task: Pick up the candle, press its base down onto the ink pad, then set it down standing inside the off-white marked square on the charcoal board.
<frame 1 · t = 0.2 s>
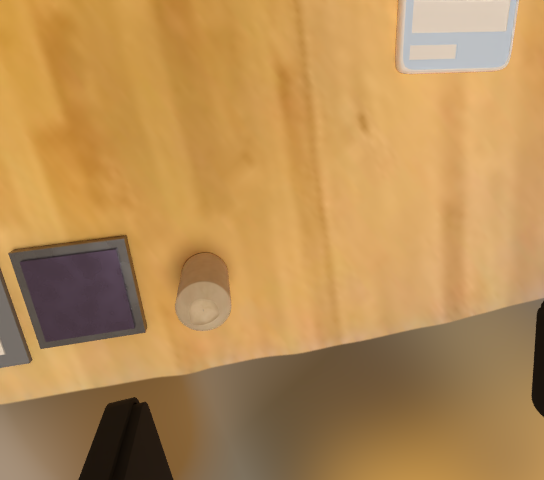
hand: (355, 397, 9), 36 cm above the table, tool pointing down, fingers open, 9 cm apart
ink pad: (84, 290, 44), on the table
candle: (205, 272, 46), on the table
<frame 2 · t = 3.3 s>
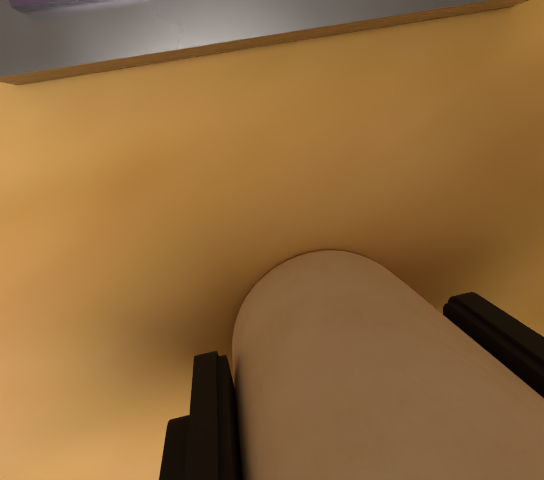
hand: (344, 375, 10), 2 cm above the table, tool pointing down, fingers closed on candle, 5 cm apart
candle: (320, 330, 12), on the table, touching gripper
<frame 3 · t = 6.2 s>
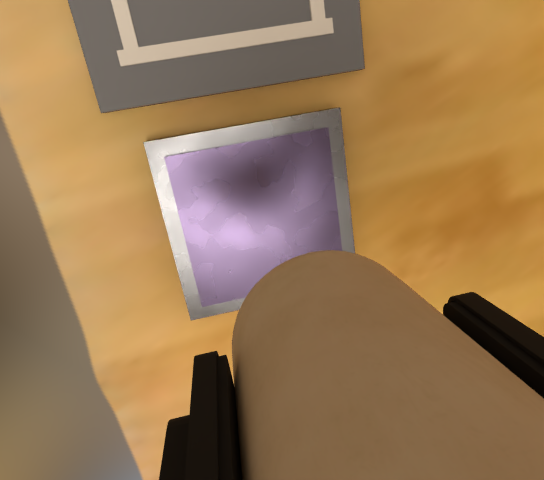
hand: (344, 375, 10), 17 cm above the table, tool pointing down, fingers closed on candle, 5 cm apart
ink pad: (259, 215, 26), on the table
candle: (320, 330, 12), point 15 cm above the table, touching gripper
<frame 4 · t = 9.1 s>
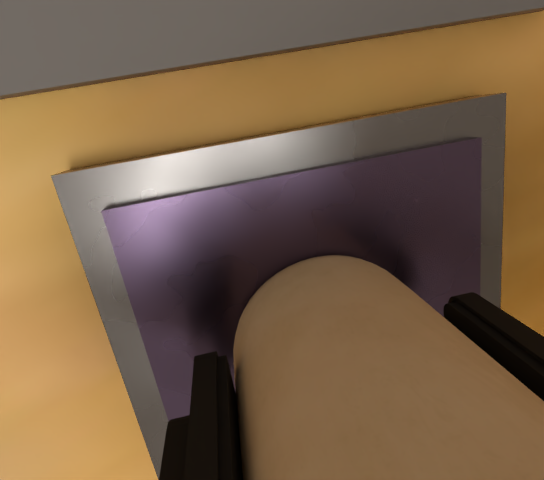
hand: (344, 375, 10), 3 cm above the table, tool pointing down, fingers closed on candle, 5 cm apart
ink pad: (310, 313, 13), on the table
candle: (323, 336, 11), point 1 cm above the table, touching gripper, ink pad
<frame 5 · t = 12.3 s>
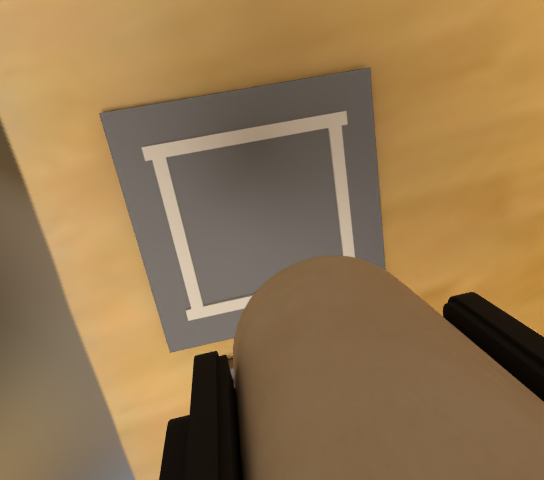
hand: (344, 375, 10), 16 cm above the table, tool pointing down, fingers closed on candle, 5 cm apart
marked board: (261, 218, 25), on the table
candle: (323, 336, 11), point 15 cm above the table, touching gripper
when the fingers open (4 cm above the table, at t = 14.9 s): candle drops 1 cm, resting on marked board.
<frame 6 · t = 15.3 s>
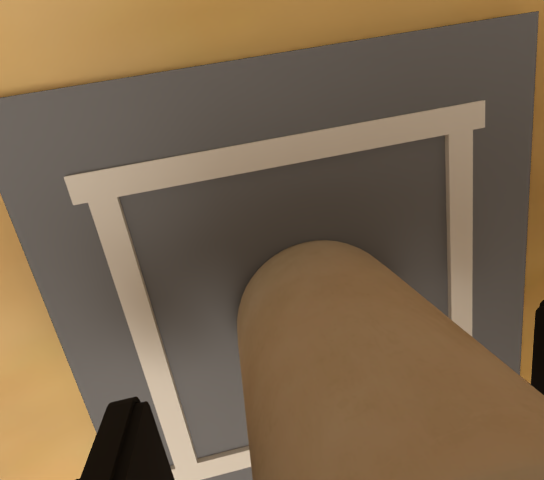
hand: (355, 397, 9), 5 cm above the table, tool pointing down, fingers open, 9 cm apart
marked board: (306, 302, 13), on the table
candle: (315, 312, 13), resting on marked board
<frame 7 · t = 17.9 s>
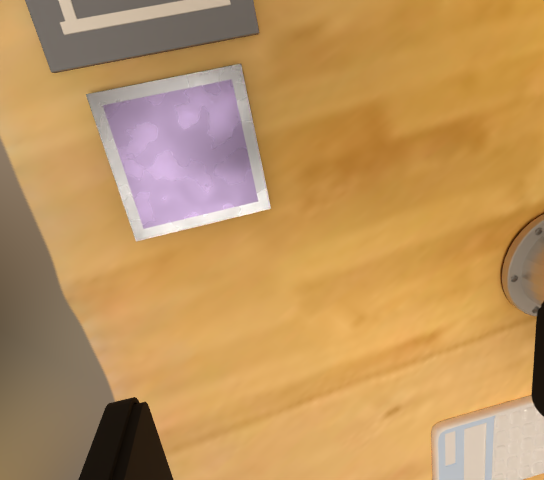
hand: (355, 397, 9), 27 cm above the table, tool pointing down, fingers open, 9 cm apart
ink pad: (186, 155, 32), on the table
calculator: (496, 438, 51), on the table
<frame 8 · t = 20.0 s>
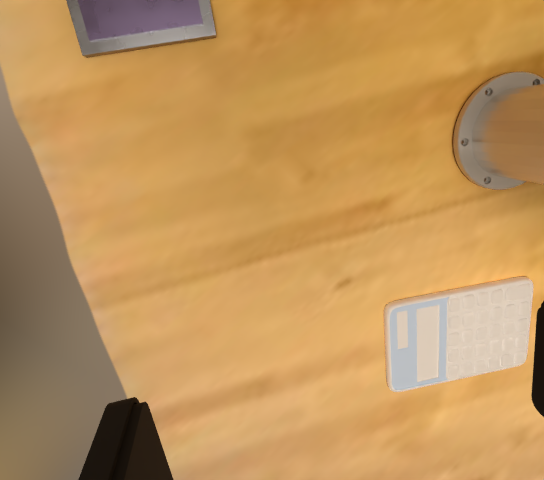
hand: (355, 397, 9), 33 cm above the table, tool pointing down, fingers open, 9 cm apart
calculator: (453, 330, 51), on the table
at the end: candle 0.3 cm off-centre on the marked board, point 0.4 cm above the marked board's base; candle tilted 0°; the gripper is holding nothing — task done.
